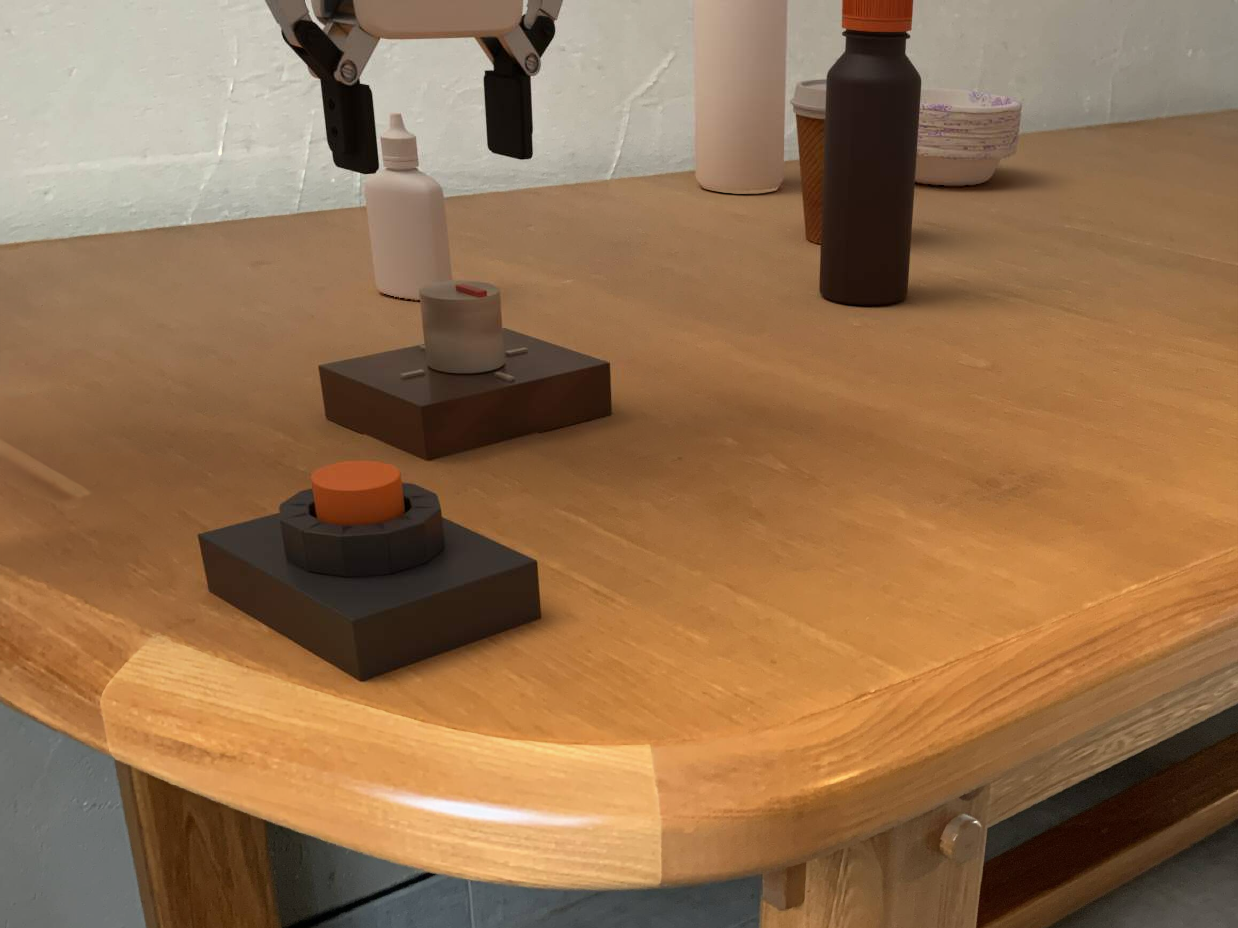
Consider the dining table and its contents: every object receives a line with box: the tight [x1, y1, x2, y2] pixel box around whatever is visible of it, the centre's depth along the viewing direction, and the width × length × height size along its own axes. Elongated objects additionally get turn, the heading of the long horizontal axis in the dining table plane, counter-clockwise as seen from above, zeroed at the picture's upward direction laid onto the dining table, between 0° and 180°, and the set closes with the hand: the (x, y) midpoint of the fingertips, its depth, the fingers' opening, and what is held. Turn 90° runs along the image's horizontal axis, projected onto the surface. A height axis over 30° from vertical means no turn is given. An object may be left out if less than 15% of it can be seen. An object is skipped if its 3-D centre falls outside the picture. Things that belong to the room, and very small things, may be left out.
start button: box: [310, 460, 405, 525], centre depth 63 cm, size 4×4×2 cm
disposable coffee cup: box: [789, 78, 827, 245], centre depth 129 cm, size 10×10×12 cm
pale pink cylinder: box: [693, 0, 788, 191], centre depth 143 cm, size 9×9×30 cm
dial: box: [419, 280, 505, 374], centre depth 85 cm, size 4×4×4 cm
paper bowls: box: [915, 87, 1023, 187], centre depth 157 cm, size 15×15×8 cm
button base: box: [197, 482, 542, 683], centre depth 65 cm, size 9×12×4 cm
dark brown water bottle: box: [818, 0, 922, 306], centre depth 110 cm, size 7×7×20 cm
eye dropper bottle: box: [364, 112, 453, 301], centre depth 108 cm, size 4×6×12 cm
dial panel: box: [318, 327, 613, 462], centre depth 87 cm, size 13×10×3 cm
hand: (436, 162), depth 79 cm, fingers open, 9 cm apart
